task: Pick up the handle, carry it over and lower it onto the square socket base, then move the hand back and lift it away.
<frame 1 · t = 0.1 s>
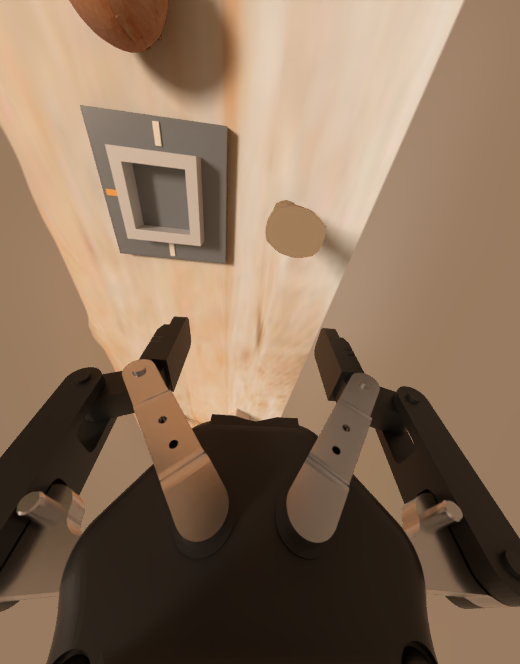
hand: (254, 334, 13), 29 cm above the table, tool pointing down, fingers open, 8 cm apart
onion: (136, 1, 23), on the table
handle: (283, 211, 35), on the table
square socket base: (169, 197, 34), on the table
beige cube: (236, 415, 70), on the table
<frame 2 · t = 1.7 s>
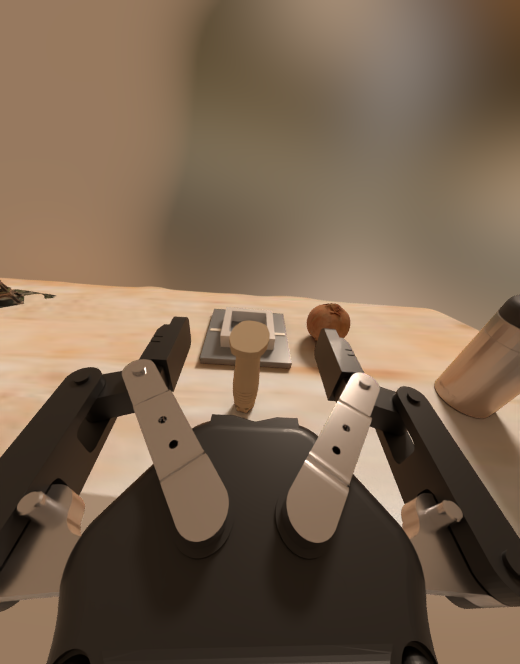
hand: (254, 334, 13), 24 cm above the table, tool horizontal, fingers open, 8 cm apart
onion: (321, 340, 53), on the table
handle: (243, 405, 37), on the table
square socket base: (247, 337, 51), on the table
eiffel tower figurine: (13, 303, 54), on the table
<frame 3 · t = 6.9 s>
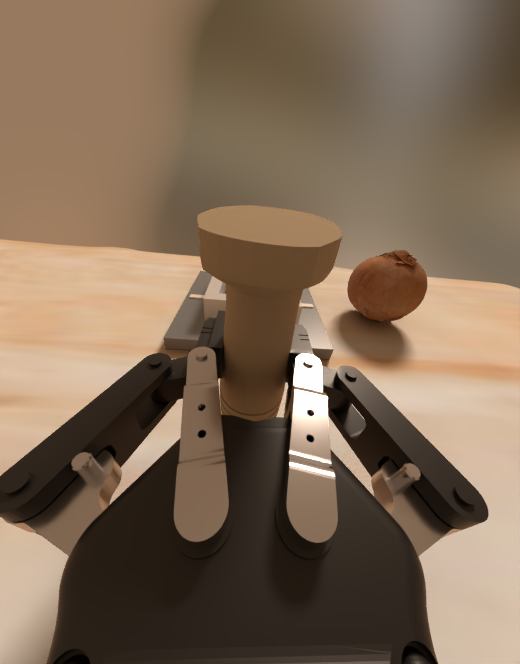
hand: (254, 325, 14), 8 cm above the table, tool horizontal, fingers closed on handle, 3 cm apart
onion: (369, 318, 33), on the table
handle: (246, 435, 17), on the table, touching gripper
square socket base: (251, 311, 31), on the table
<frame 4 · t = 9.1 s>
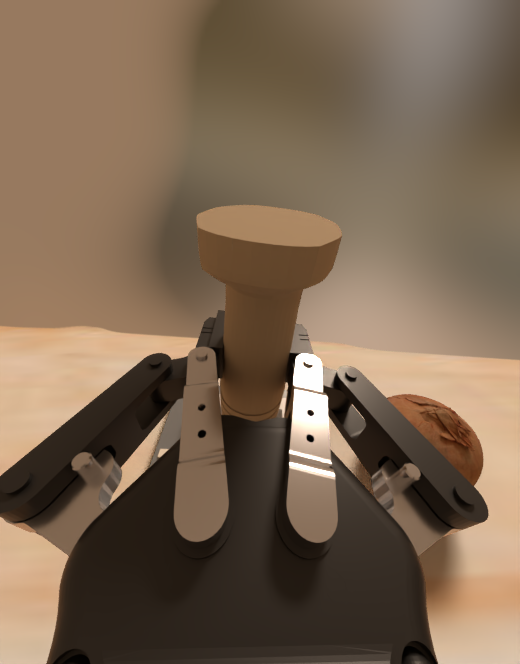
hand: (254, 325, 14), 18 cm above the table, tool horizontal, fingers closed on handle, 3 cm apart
onion: (394, 461, 26), on the table
handle: (246, 435, 17), point 9 cm above the table, touching gripper
square socket base: (241, 463, 24), on the table
when the fingers open (11 cm above the table, at t = 11.6 s): handle stays where it is, resting on square socket base.
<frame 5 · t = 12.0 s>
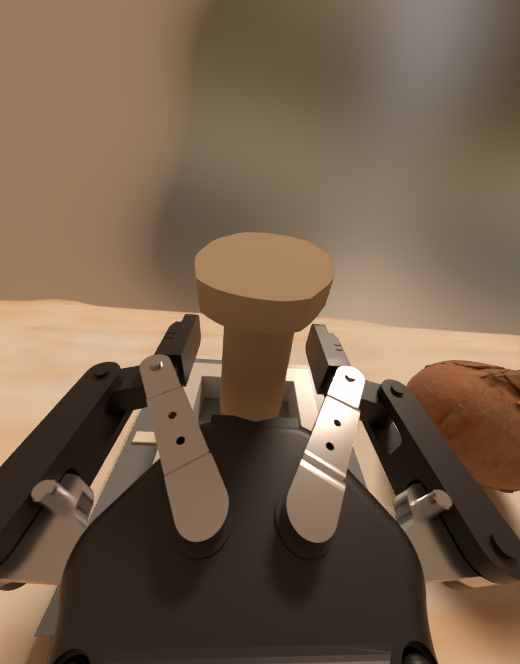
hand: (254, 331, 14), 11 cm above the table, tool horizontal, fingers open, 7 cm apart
onion: (434, 447, 21), on the table
handle: (245, 443, 18), point 1 cm above the table, touching square socket base
square socket base: (243, 450, 18), on the table
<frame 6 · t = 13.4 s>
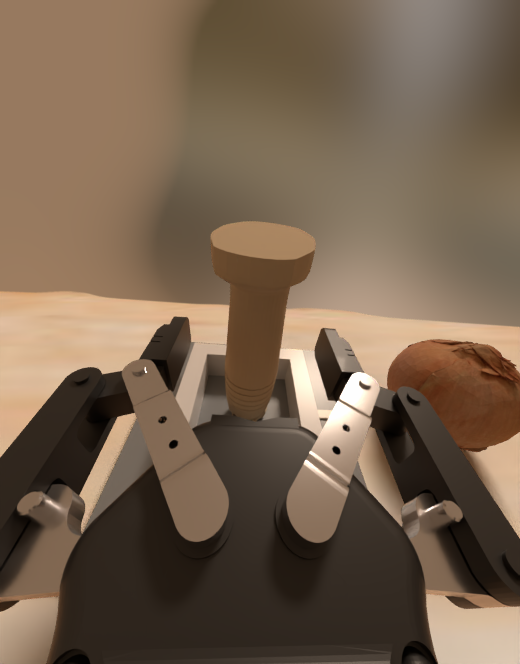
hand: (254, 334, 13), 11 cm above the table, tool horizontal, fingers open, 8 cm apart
onion: (417, 420, 23), on the table
handle: (246, 413, 20), point 1 cm above the table, touching square socket base
square socket base: (244, 420, 21), on the table
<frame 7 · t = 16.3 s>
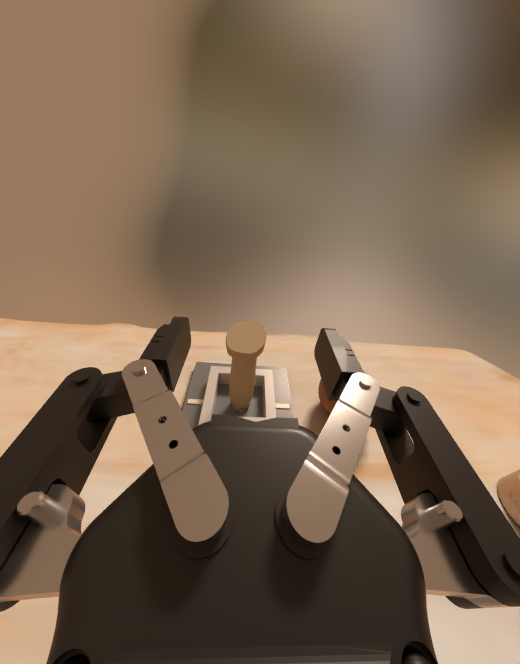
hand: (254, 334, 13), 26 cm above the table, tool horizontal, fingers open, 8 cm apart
onion: (337, 409, 40), on the table
handle: (239, 405, 37), point 1 cm above the table, touching square socket base
square socket base: (238, 409, 38), on the table
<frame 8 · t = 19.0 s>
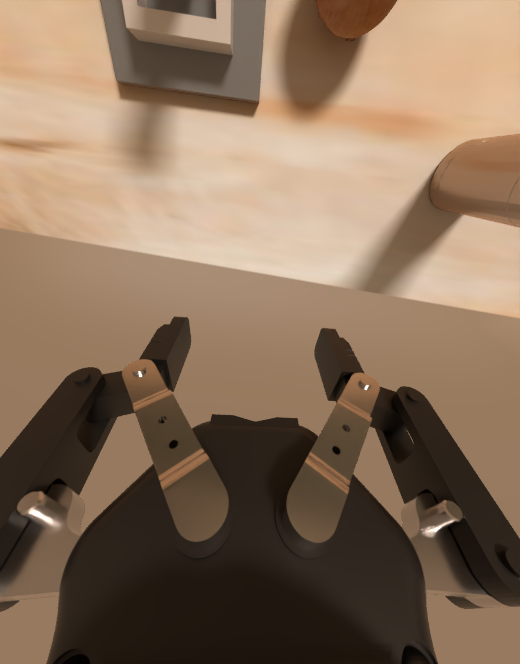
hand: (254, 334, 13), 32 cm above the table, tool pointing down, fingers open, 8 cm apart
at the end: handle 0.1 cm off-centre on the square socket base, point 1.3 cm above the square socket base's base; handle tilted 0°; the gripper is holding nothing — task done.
